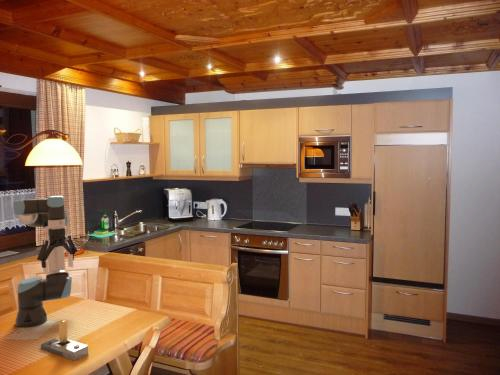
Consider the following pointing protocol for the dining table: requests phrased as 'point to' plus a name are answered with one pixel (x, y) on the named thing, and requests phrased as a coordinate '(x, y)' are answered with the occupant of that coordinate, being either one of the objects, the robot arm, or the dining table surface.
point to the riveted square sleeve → (66, 349)
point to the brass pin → (63, 332)
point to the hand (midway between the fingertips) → (58, 270)
